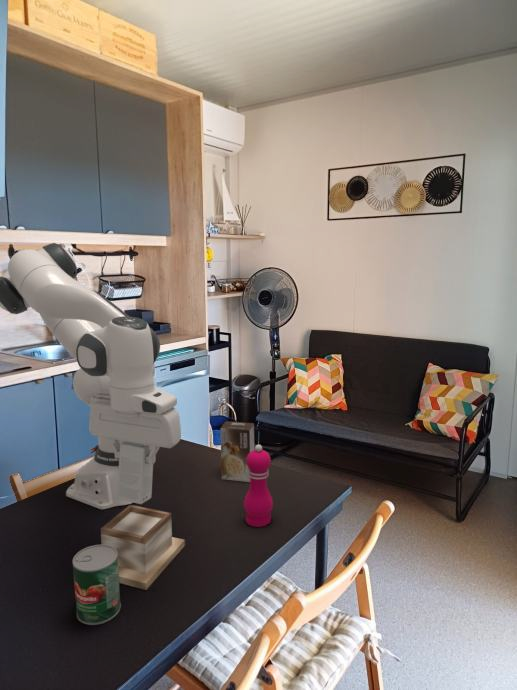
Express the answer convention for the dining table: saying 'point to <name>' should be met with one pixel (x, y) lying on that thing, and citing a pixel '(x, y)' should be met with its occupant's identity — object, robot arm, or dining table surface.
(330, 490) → the dining table surface
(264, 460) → the pepper mill
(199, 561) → the dining table surface
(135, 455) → the skincare box
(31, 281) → the robot arm
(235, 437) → the coffee box
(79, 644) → the dining table surface
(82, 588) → the canned tomato
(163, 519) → the display stand
